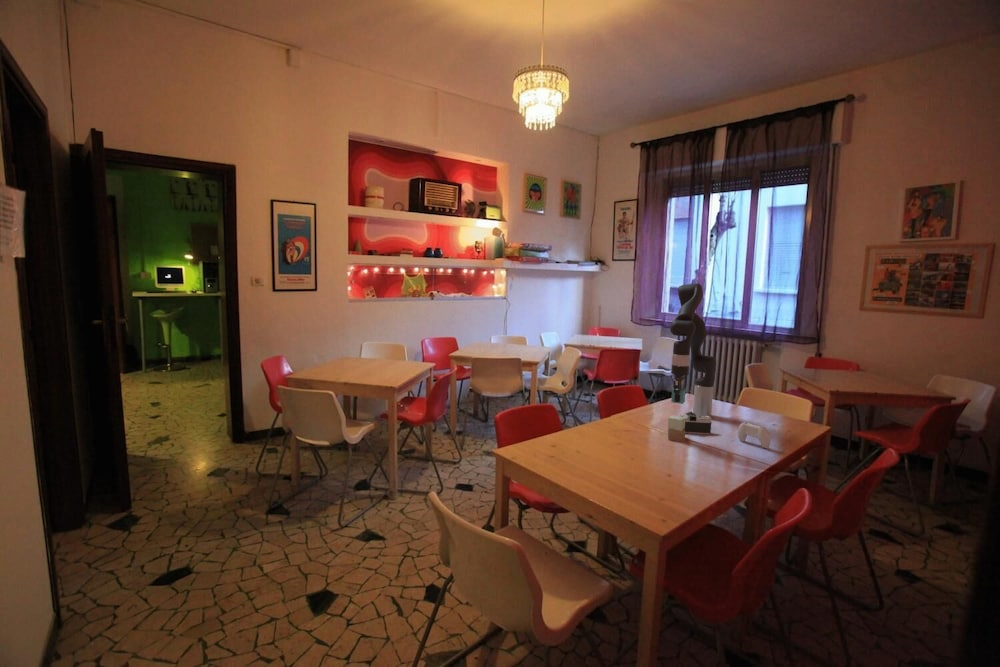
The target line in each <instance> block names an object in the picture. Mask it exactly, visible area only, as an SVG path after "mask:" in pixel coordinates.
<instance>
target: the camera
mask: <svg viewBox="0 0 1000 667" xmlns="http://www.w3.org/2000/svg"><path fill="white" fill-rule="evenodd" d="M679 416H680V417H685V434H696V433H697V434H698V435H699V434H701V435H710V433H712V432H711V430H712V420H713V418H712V417H711V418H710V417H709V416H705V417H704V416H698V417H697V415H696V414H694V413H693V411H688V412H686V413H684V414H680V415H679ZM697 434H696V435H697Z"/></svg>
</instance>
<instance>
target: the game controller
mask: <svg viewBox="0 0 1000 667" xmlns="http://www.w3.org/2000/svg"><path fill="white" fill-rule="evenodd" d="M747 436H751V437H755V438H757V439H758V440H759V443H760V446H761V447H762V449H765V448H766V449H769V448H770V446H771V436H770V433H769V431H768V429H767V428H766V427H765V426H762V425H755V424H751V423H749V422H745V421H743V422H741V423H740V424H739V426H738V428H737V438H738V440H739V441H740V442H742V443H743V442H746V439H747ZM766 449H765V450H766Z"/></svg>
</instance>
